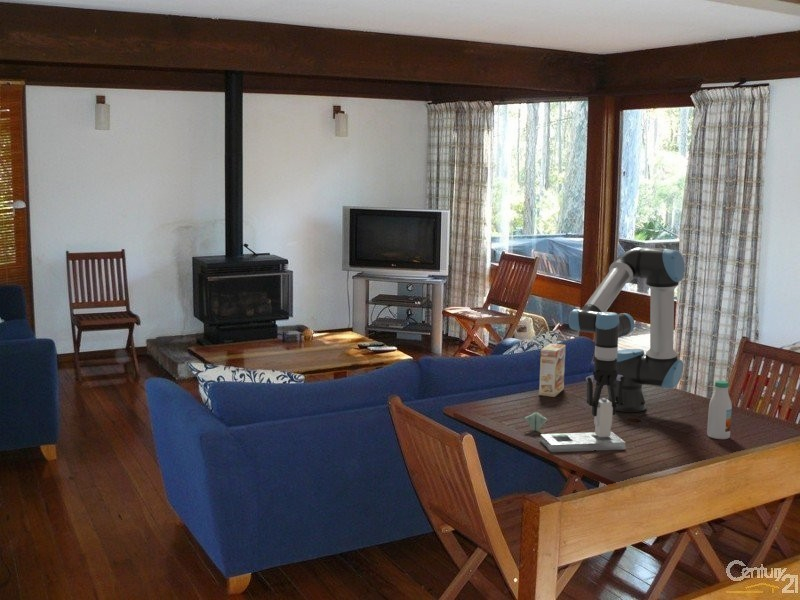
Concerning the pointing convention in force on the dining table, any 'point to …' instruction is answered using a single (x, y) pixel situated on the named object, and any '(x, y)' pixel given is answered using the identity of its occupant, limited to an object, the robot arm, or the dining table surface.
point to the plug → (604, 418)
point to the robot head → (535, 420)
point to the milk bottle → (720, 412)
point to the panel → (581, 442)
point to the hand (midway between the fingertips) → (603, 424)
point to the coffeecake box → (552, 370)
